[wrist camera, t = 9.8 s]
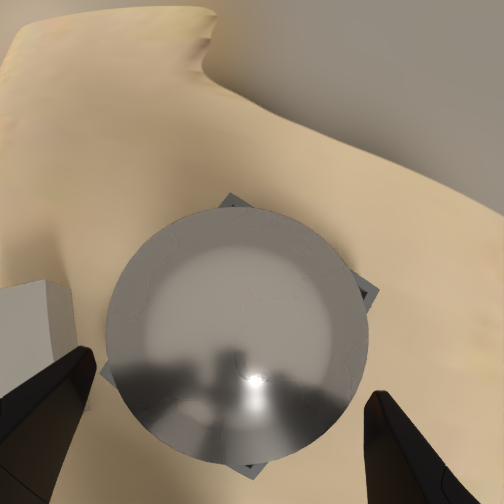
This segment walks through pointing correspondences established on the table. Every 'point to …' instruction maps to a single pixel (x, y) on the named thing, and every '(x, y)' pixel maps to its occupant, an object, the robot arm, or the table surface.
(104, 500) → the table surface
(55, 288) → the grey rectangular block
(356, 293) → the steel can
